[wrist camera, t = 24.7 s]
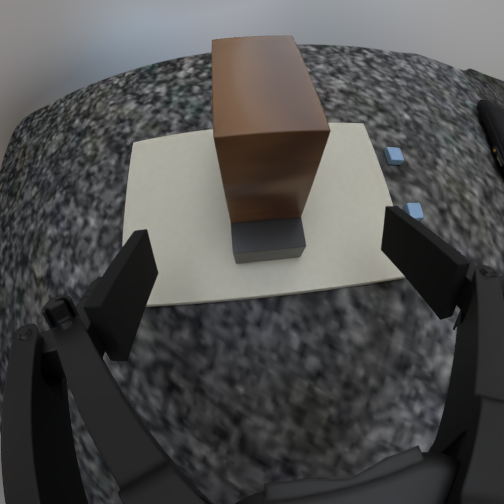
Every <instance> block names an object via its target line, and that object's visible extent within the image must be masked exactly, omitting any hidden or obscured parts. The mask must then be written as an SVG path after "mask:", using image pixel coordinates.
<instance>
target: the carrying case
mask: <svg viewBox="0 0 504 504" xmlns="http://www.w3.org/2000/svg"><path fill="white" fill-rule="evenodd" d="M477 107H478V108H477V110H478V112H479V115H480V117H481V119H482V121H483V124H484V126H485V128H486V131H487V133H488V136H489V138H490V141H491V143H492V146H493V148H492V152H493V154H494V155H495V157H496V159H497V160H498V162H499V164H500V167H501V170H502V173H503V175H504V109H502V108H501V107H499V106H497V105H495V104H494V103H492V102H490V101H488V100H480V101H478V104H477Z"/></svg>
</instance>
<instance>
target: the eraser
mask: <svg viewBox="0 0 504 504" xmlns="http://www.w3.org/2000/svg"><path fill="white" fill-rule="evenodd" d="M212 107H213V138H214V143H215V148H216V153H217V159H218V164H219V169H220V174H221V179H222V184H223V189H224V193H225V198H226V203H227V208H228V213H229V218H230V222H231V235H232V247H233V255H234V259H235V263H236V264H239V263H249V262H259V261H269V260H279V259H288V258H298V257H301V255H302V253H303V251H304V249H305V247H306V241H305V235H304V230H303V224H302V218H301V216H302V213H303V210H304V208H305V205H306V202H307V199H308V196H309V193H310V191H311V188H312V185H313V182H314V179H315V176H316V173H317V170H318V167H319V164H320V161H321V158H322V155H323V153H324V149H325V146H326V143H327V140H328V137H329V134H330V131H331V130H330V127H329V124H328V122H327V119H326V116H325V113H324V110H323V108H322V105H321V102H320V100H319V97H318V94H317V92H316V89H315V87H314V84H313V82H312V79H311V77H310V75H309V72H308V70H307V67H306V65H305V63H304V60H303V58H302V56H301V54H300V51H299V49H298V47H297V45H296V43H295V41H294V38H293V37H292V36H252V37H235V38H224V39H216V40H212Z"/></svg>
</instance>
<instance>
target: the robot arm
mask: <svg viewBox="0 0 504 504" xmlns="http://www.w3.org/2000/svg"><path fill="white" fill-rule="evenodd" d="M381 251H382V252H383V253H384V254H385V255H386V256H387V257H388V258H389V259H390V260H391V262H392V263H393V264H394V265H395V266H396V267H397V268H398V269H399V271H400V272H401V273H402V274H403V275H404V276H405V277H406V279H407V280H408V281H409V282H410V283H411V284H412V286H413V287H414V288H415V289H416V290H417V291H418V293H419V294H420V295H421V296H422V298H423V299H424V300H425V301H426V302H427V304H428V305H429V306H430V307H431V309H432V310H433V311H434V312H435V314H436V315H437V316H438V317H439V319H440V320H441V319H444V318H447V317H451V316H452V315H453V312H454V310H455V307H456V305H457V306H458V307H459V308H460V309H461V310H460V313H459V315H458V318H457V320H456V322H455V325H454V327H453V330H455V328H456V327H457V334H456V344H455V352H454V359H453V366H452V372H451V378H450V383H449V388H448V393H447V398H446V402H445V407H444V411H443V415H442V419H441V422H440V426H439V430H438V433H437V436H436V439H435V441H434V443H433V445H432V447H431V448H430V450H429V452H422V453H421V450H420V448H419V445H418V446H416V447H413V448H411V449H408V450H406V451H403V452H401V453H398V454H395V455H392V456H390V457H387V458H385V459H383V460H382V461H380V462H378V463H377V464H375V465H373V466H372V467H370V468H368V469H366V470H365V471H363V472H361V473H359V474H357V475H355V476H353V477H351V478H343V479H314V478H304V479H298V480H292V481H285V482H277V483H267V484H264V486H265V490H264V491H261V492H258V493H255V494H253V495H250V496H248V497H246V498H244V499H242V500H240V501H238V502H237V503H236V504H504V276H499V275H498V273H497V272H496V271H495V270H494V269H492V268H491V267H489V266H486V265H477V266H475V265H474V264H473V263H472V262H470V261H469V260H468V259H467V258H466V257H465V256H463V255H461V253H460V252H459V251H456V249H455V248H454V247H452V246H451V245H450V244H448V243H446V242H445V241H444V240H442V239H441V238H440V237H438V236H437V235H436V234H435V233H433V232H432V231H431V230H429V229H428V228H427V227H425V226H424V225H423V224H421V223H420V222H419V221H417V220H416V219H414V218H413V217H412V216H410V215H409V214H408V213H406V212H405V211H403V210H402V209H400V208H399V207H398V206H385V217H384V226H383V235H382V243H381ZM157 276H158V269H157V266H156V262H155V258H154V254H153V250H152V247H151V243H150V239H149V235H148V230H147V229H143V230H136V231H134V232H133V233H132V234H131V236H130V237H129V239H128V240H127V241H126V243H125V244H124V246H123V247H122V248H121V250H120V251H119V253H118V254H117V256H116V257H115V258H114V260H113V261H112V263H111V264H110V266H109V267H108V269H107V270H106V272H105V273H104V275H103V276H102V277H98V278H97V279H96V280H95V281H94V282H92V283H91V284H90V286H89V287H88V289H87V290H86V291H87V292H85V293H84V295H83V297H82V298H81V300H80V301H79V303H78V304H77V306H76V308H75V306H74V304H73V301H72V299H71V298H70V297H69V296H67V295H61V296H58V297H55V298H53V299H52V300H50V301H49V302H48V303H47V304H45V306H44V307H43V309H42V314H43V316H44V318H45V319H46V321H47V323H48V325H49V327H50V328H51V330H49V331H45V332H41V333H40V331H39V330H38V328H37V326H36V325H35V324H27V325H25V326H22V327H21V328H19V329H18V331H17V332H16V333H15V335H14V337H13V341H12V345H11V350H10V355H9V361H8V367H7V373H6V380H5V387H4V396H3V407H2V422H1V462H2V476H3V486H4V495H5V502H6V504H88V501H87V497H86V494H85V490H84V487H83V483H82V479H81V475H80V471H79V466H78V462H77V457H76V452H75V446H74V440H73V434H72V427H71V420H70V412H69V402H68V391H67V381H68V384H69V387H70V389H71V392H72V395H73V397H74V400H75V402H76V404H77V407H78V409H79V411H80V414H81V416H82V418H83V420H84V423H85V425H86V427H87V429H88V431H89V433H90V435H91V437H92V439H93V441H94V443H95V445H96V447H97V449H98V451H99V453H100V454H101V456H102V458H103V460H104V462H105V463H106V465H107V467H108V469H109V470H110V472H111V474H112V475H113V477H114V478H115V480H116V482H117V483H118V485H119V488H120V490H119V492H118V494H119V497H120V499H121V501H122V502H123V504H213V503H212V502H211V501H210V500H209V499H208V498H207V497H206V496H205V495H204V494H203V493H202V492H201V491H200V490H199V489H198V488H197V487H196V486H195V485H194V484H193V483H192V482H191V481H190V480H189V479H188V478H187V477H186V476H185V474H184V473H183V472H182V471H181V470H180V469H179V468H178V466H177V465H176V464H175V463H174V462H173V461H172V459H171V458H170V457H169V456H168V455H167V453H166V452H165V451H164V450H163V448H162V447H161V446H160V445H159V443H158V442H157V441H156V439H155V438H154V437H153V436H152V434H151V433H150V432H149V430H148V429H147V427H146V426H145V425H144V423H143V422H142V420H141V419H140V418H139V416H138V415H137V413H136V412H135V410H134V409H133V407H132V406H131V404H130V403H129V401H128V400H127V398H126V397H125V395H124V394H123V392H122V390H121V389H120V387H119V385H118V384H117V382H116V381H115V379H114V377H113V375H112V374H111V372H110V370H109V369H108V367H107V365H106V363H105V362H104V360H103V355H104V353H105V351H106V353H107V354H108V356H109V358H110V360H111V361H127V360H128V357H129V354H130V351H131V348H132V345H133V342H134V339H135V336H136V333H137V330H138V327H139V324H140V321H141V319H142V316H143V313H144V310H145V307H146V305H147V302H148V299H149V297H150V294H151V291H152V289H153V286H154V284H155V281H156V278H157Z"/></svg>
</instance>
